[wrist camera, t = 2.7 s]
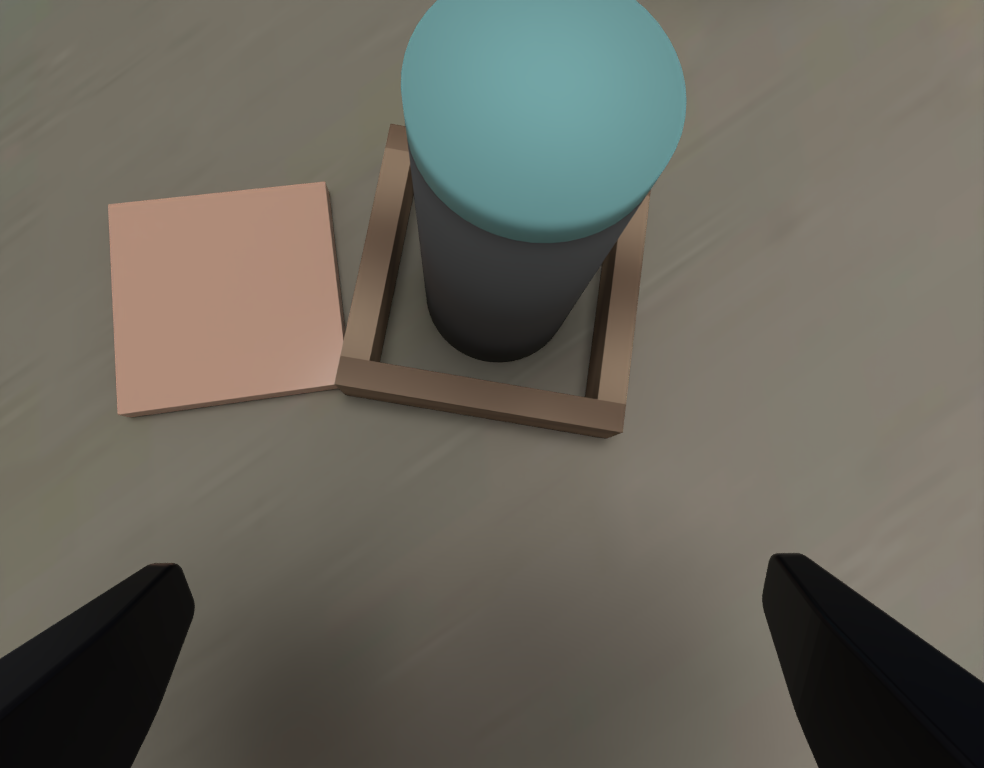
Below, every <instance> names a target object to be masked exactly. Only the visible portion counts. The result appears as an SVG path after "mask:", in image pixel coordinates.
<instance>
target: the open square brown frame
mask: <svg viewBox="0 0 984 768" xmlns="http://www.w3.org/2000/svg"><path fill="white" fill-rule="evenodd" d="M650 191H651V190H650ZM650 191H649V193H648V194H647V196H646V197H645V199H644V200H643V202H642V203H641V205H640V206H639V208H638V209H637V211H636V212H635V214H634V215H633V217H632V218H631V220H630V221H629V223H628V225H627V226H626V228H625V229H624V231H623V232H622V234H621V235H620V237H619V238H618V240H617V241H616V243H615V244H614V246H613V247H612V249H611V250H610V252H609V253H608V255H607V256H606V258H605V259H604V261H603V264H602V271H601V279H600V287H599V295H598V302H597V310H596V318H595V325H594V333H593V341H592V349H591V356H590V364H589V372H588V379H587V387H586V395H585V397H580V396H574V395H568V394H563V393H557V392H551V391H545V390H539V389H533V388H527V387H521V386H516V385H510V384H504V383H498V382H492V381H486V380H480V379H474V378H468V377H463V376H457V375H451V374H445V373H439V372H433V371H427V370H421V369H416V368H410V367H404V366H398V365H392V364H386V363H380V358H381V353H382V348H383V343H384V338H385V333H386V328H387V323H388V318H389V313H390V308H391V303H392V298H393V294H394V289H395V284H396V279H397V274H398V269H399V264H400V259H401V254H402V249H403V244H404V239H405V234H406V229H407V224H408V219H409V214H410V209H411V204H412V199H413V195H414V191H413V183H412V175H411V167H410V158H409V150H408V142H407V134H406V126H401V125H395V124H390V128H389V133H388V138H387V142H386V147H385V152H384V156H383V161H382V165H381V170H380V175H379V179H378V184H377V189H376V193H375V198H374V202H373V207H372V212H371V216H370V221H369V226H368V230H367V235H366V240H365V244H364V249H363V253H362V258H361V263H360V267H359V272H358V277H357V281H356V286H355V290H354V295H353V300H352V304H351V309H350V314H349V318H348V323H347V327H346V332H345V337H344V341H343V346H342V351H341V355H340V360H339V365H338V369H337V374H336V378H335V383H334V384H335V385H336V386H337V387H338V388H339V389H340V390H341V391H342V392H343V393H344V394H345V395H349V396H355V397H361V398H367V399H373V400H379V401H385V402H391V403H397V404H403V405H409V406H415V407H421V408H427V409H433V410H439V411H445V412H451V413H457V414H463V415H469V416H475V417H481V418H487V419H493V420H499V421H505V422H511V423H517V424H523V425H529V426H534V427H540V428H546V429H552V430H558V431H564V432H570V433H576V434H582V435H588V436H594V437H600V438H609V437H612V436H614V435H617V434H620V433H623V425H624V416H625V408H626V399H627V390H628V382H629V373H630V364H631V356H632V347H633V338H634V330H635V321H636V312H637V304H638V295H639V286H640V278H641V269H642V260H643V252H644V243H645V234H646V226H647V217H648V208H649V200H650Z"/></svg>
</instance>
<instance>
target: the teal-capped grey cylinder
mask: <svg viewBox="0 0 984 768" xmlns="http://www.w3.org/2000/svg"><path fill="white" fill-rule="evenodd" d="M401 93H402V101H403V109H404V117H405V126H406V134H407V142H408V150H409V158H410V167H411V175H412V183H413V191H414V199H415V208H416V216H417V224H418V232H419V240H420V248H421V257H422V265H423V273H424V281H425V289H426V298H427V305H428V309H429V313H430V316H431V318H432V321H433V323H434V325H435V326H436V328H437V330H438V331H439V332H440V334H441V335H442V336H443V338H444V339H445V340H446V341H447V342H448V343H449V344H451V345H452V346H453V347H454V348H456V349H457V350H459V351H460V352H462V353H464V354H466V355H468V356H470V357H473V358H475V359H479V360H483V361H489V362H508V361H514V360H518V359H522V358H524V357H527V356H529V355H531V354H533V353H535V352H536V351H538V350H539V349H541V348H542V347H543V346H545V345H546V344H547V343H548V342H549V341H550V340H551V339H552V337H553V336H554V335H555V334H556V332H557V331H558V329H559V328H560V326H561V325H562V323H563V322H564V320H565V319H566V317H567V316H568V314H569V313H570V311H571V310H572V308H573V306H574V305H575V303H576V302H577V300H578V299H579V297H580V296H581V294H582V293H583V291H584V290H585V288H586V287H587V285H588V284H589V282H590V281H591V279H592V278H593V276H594V275H595V273H596V272H597V270H598V269H599V267H600V266H601V264H602V262H603V261H604V259H605V258H606V256H607V255H608V253H609V252H610V250H611V249H612V247H613V246H614V244H615V243H616V241H617V240H618V238H619V237H620V235H621V234H622V232H623V231H624V229H625V228H626V226H627V225H628V223H629V221H630V220H631V218H632V217H633V215H634V214H635V212H636V211H637V209H638V208H639V206H640V205H641V203H642V202H643V200H644V199H645V197H646V196H647V194H648V193H649V191H650V190H651V188H652V187H653V185H654V184H655V182H656V181H657V179H658V177H659V176H660V174H661V173H662V171H663V170H664V168H665V167H666V165H667V164H668V162H669V160H670V159H671V157H672V155H673V153H674V151H675V150H676V147H677V145H678V142H679V139H680V137H681V134H682V130H683V125H684V121H685V114H686V89H685V81H684V77H683V72H682V68H681V65H680V62H679V60H678V57H677V54H676V52H675V50H674V48H673V46H672V44H671V42H670V40H669V38H668V37H667V35H666V34H665V32H664V31H663V29H662V28H661V26H660V25H659V23H658V22H657V21H656V20H655V19H654V18H653V17H652V16H651V14H650V13H649V12H648V11H647V10H646V9H645V8H644V7H643V6H641V5H640V4H639V3H638V2H637V1H636V0H437V1H436V2H435V3H434V4H433V5H432V6H431V8H430V9H429V10H428V11H427V12H426V13H425V15H424V16H423V18H422V19H421V20H420V22H419V23H418V25H417V26H416V28H415V30H414V32H413V34H412V36H411V38H410V40H409V43H408V46H407V49H406V52H405V55H404V61H403V66H402V72H401Z"/></svg>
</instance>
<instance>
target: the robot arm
mask: <svg viewBox="0 0 984 768" xmlns="http://www.w3.org/2000/svg"><path fill="white" fill-rule="evenodd" d="M762 603H763V609H764V613H765V616H766V620H767V623H768V626H769V629H770V632H771V636H772V639H773V642H774V645H775V649H776V652H777V655H778V658H779V662H780V665H781V668H782V671H783V674H784V678H785V681H786V684H787V687H788V691H789V694H790V697H791V700H792V703H793V706H794V709H795V712H796V715H797V717H798V720H799V722H800V725H801V727H802V730H803V732H804V735H805V737H806V739H807V742H808V744H809V747H810V749H811V751H812V754H813V756H814V758H815V761H816V763H817V765H818V768H984V683H983V682H982V681H981V680H979V679H978V678H976V677H975V676H974V675H972V674H971V673H969V672H968V671H967V670H965V669H964V668H962V667H961V666H960V665H958V664H957V663H955V662H954V661H953V660H951V659H950V658H948V657H947V656H946V655H944V654H943V653H941V652H940V651H939V650H937V649H936V648H934V647H933V646H932V645H930V644H929V643H927V642H926V641H924V640H923V639H922V638H920V637H919V636H917V635H916V634H915V633H913V632H912V631H910V630H909V629H908V628H906V627H905V626H903V625H902V624H901V623H899V622H898V621H896V620H895V619H894V618H892V617H891V616H889V615H888V614H887V613H885V612H884V611H882V610H881V609H880V608H878V607H877V606H875V605H874V604H873V603H871V602H870V601H868V600H867V599H865V598H864V597H863V596H861V595H860V594H858V593H857V592H856V591H854V590H853V589H851V588H850V587H849V586H847V585H846V584H844V583H843V582H842V581H840V580H839V579H837V578H836V577H835V576H833V575H832V574H830V573H829V572H828V571H826V570H825V569H823V568H822V567H821V566H819V565H818V564H816V563H815V562H814V561H812V560H811V559H809V558H808V557H806V556H805V555H803V554H800V553H776V554H773V555H772V556H771V558H770V560H769V563H768V568H767V573H766V578H765V583H764V589H763V594H762ZM194 609H195V605H194V599H193V596H192V594H191V591H190V589H189V586H188V583H187V581H186V578H185V575H184V573H183V570H182V568H181V567H180V566H179V565H178V564H175V563H154V564H150V565H147V566H145V567H144V568H142V569H141V570H139V571H138V572H136V573H134V574H133V575H131V576H130V577H128V578H127V579H125V580H123V581H122V582H120V583H119V584H117V585H116V586H114V587H112V588H111V589H109V590H108V591H106V592H105V593H103V594H101V595H100V596H98V597H97V598H95V599H94V600H92V601H90V602H89V603H87V604H86V605H84V606H82V607H81V608H79V609H78V610H76V611H75V612H73V613H71V614H70V615H68V616H67V617H65V618H64V619H62V620H60V621H59V622H57V623H56V624H54V625H53V626H51V627H49V628H48V629H46V630H45V631H43V632H42V633H40V634H38V635H37V636H35V637H34V638H32V639H31V640H29V641H27V642H26V643H24V644H23V645H21V646H20V647H18V648H16V649H15V650H13V651H12V652H10V653H8V654H7V655H5V656H4V657H2V658H1V659H0V768H131V766H132V764H133V762H134V760H135V758H136V756H137V754H138V752H139V750H140V747H141V745H142V743H143V741H144V739H145V737H146V735H147V733H148V731H149V729H150V727H151V724H152V722H153V720H154V718H155V716H156V713H157V711H158V709H159V706H160V704H161V701H162V699H163V696H164V694H165V691H166V688H167V686H168V683H169V680H170V678H171V675H172V672H173V670H174V667H175V664H176V662H177V659H178V656H179V654H180V651H181V648H182V646H183V643H184V640H185V638H186V635H187V632H188V630H189V627H190V624H191V622H192V619H193V615H194Z"/></svg>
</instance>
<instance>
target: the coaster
mask: <svg viewBox="0 0 984 768" xmlns="http://www.w3.org/2000/svg"><path fill="white" fill-rule="evenodd" d="M108 212H109V233H110V255H111V277H112V299H113V321H114V343H115V365H116V387H117V409H118V415H122V416H126V417H137V416H144V415H151V414H159V413H166V412H173V411H180V410H187V409H194V408H202V407H209V406H216V405H223V404H230V403H237V402H245V401H252V400H259V399H266V398H273V397H281V396H288V395H295V394H302V393H309V392H316V391H324V390H331V389H338V387H337V386H336V385H335V384H334V383H335V378H336V374H337V369H338V365H339V360H340V355H341V351H342V346H343V341H344V337H345V324H344V315H343V307H342V298H341V289H340V281H339V272H338V264H337V255H336V247H335V238H334V230H333V221H332V212H331V204H330V195H329V191H328V188H327V186H326V183H325V182H316V183H307V184H297V185H288V186H279V187H269V188H260V189H250V190H241V191H231V192H222V193H212V194H203V195H193V196H184V197H174V198H165V199H155V200H146V201H136V202H127V203H117V204H108Z"/></svg>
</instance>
